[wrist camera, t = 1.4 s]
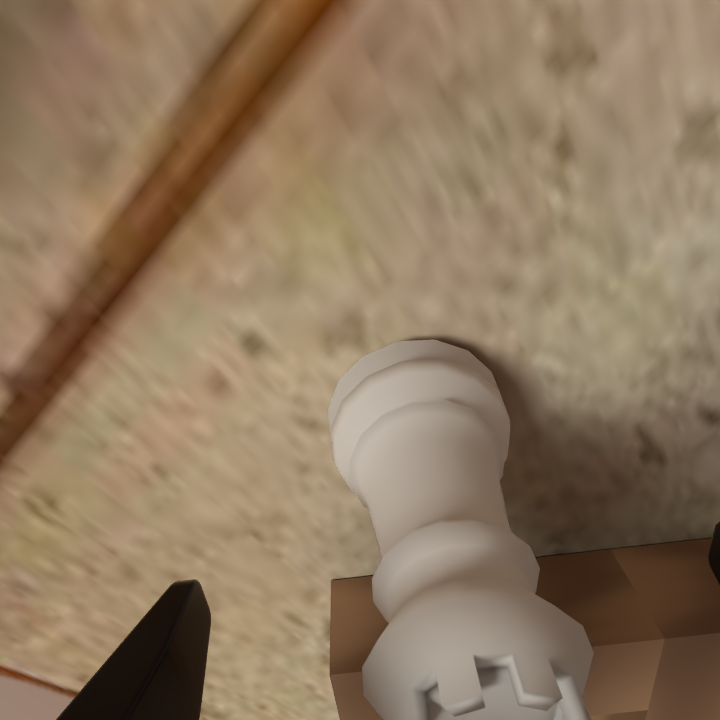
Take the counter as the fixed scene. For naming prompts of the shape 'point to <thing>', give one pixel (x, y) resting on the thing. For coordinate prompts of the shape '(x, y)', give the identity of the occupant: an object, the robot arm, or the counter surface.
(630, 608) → the walnut socket
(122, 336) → the counter surface
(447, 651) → the rook chess piece
